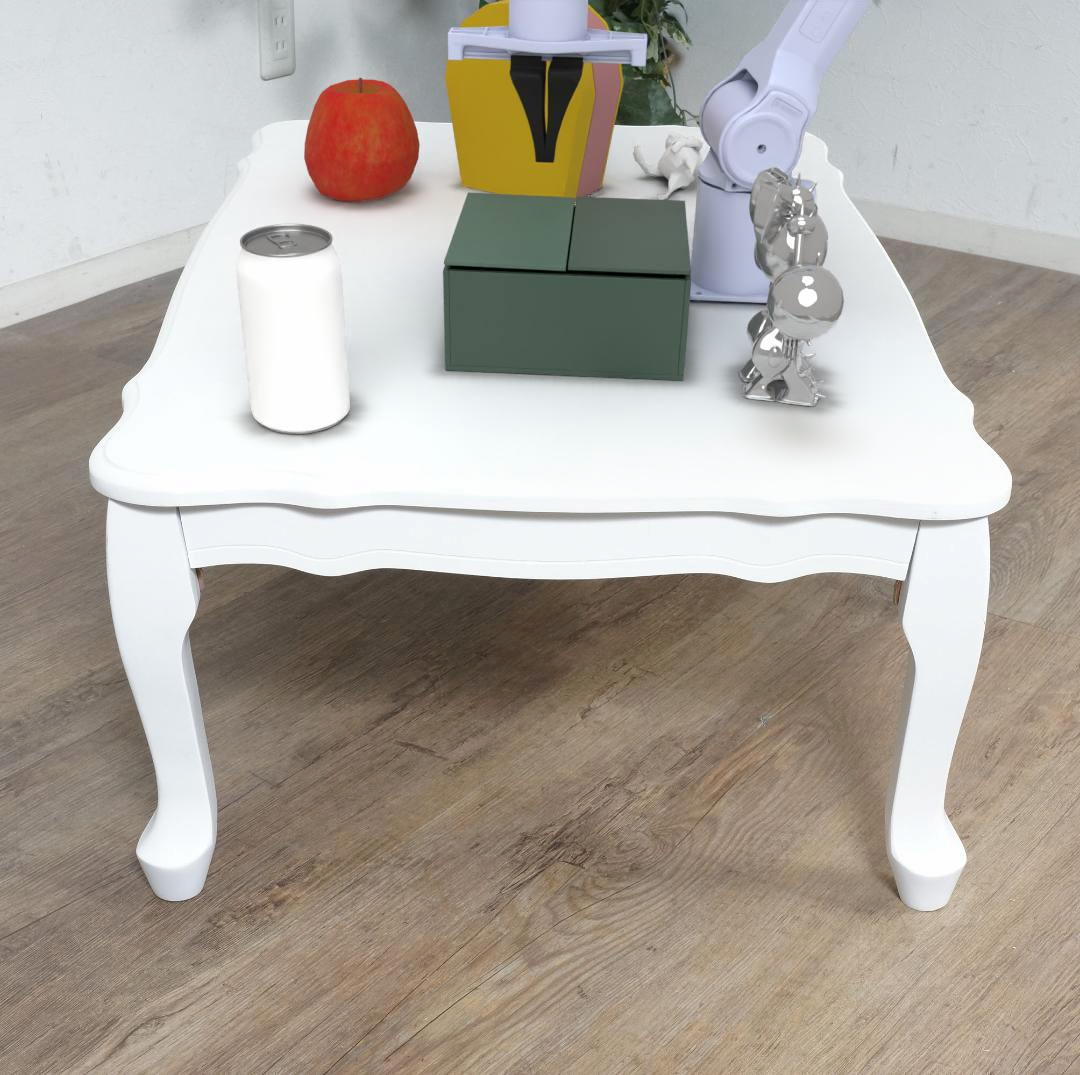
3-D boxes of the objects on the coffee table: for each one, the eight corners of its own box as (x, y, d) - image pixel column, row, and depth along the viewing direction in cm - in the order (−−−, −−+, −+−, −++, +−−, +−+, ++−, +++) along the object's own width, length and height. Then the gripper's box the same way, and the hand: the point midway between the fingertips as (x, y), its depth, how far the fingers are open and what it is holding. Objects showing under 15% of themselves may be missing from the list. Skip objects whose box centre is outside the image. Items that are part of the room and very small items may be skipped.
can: (269, 444, 84) (250, 264, 77) (239, 403, 88) (219, 229, 82) (365, 424, 86) (354, 247, 80) (331, 385, 91) (318, 215, 85)
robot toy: (839, 448, 85) (876, 221, 77) (743, 444, 85) (769, 217, 77) (811, 351, 97) (839, 148, 89) (727, 348, 97) (747, 145, 89)
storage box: (683, 380, 93) (692, 271, 88) (445, 370, 93) (442, 261, 89) (678, 300, 105) (685, 200, 101) (468, 291, 106) (466, 191, 101)
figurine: (623, 180, 125) (627, 142, 135) (676, 218, 127) (676, 178, 137) (661, 128, 122) (663, 94, 132) (715, 169, 124) (713, 131, 134)
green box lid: (565, 271, 89) (565, 266, 89) (443, 265, 89) (443, 260, 89) (574, 201, 101) (574, 197, 101) (467, 196, 102) (467, 192, 101)
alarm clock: (620, 189, 129) (631, -12, 119) (577, 211, 123) (584, 2, 113) (494, 162, 135) (493, -31, 125) (447, 182, 129) (443, -18, 119)
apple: (417, 211, 122) (413, 93, 116) (299, 210, 122) (290, 92, 116) (424, 176, 131) (421, 65, 125) (314, 174, 131) (306, 63, 125)
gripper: (650, -38, 97) (639, 147, 104) (454, -44, 98) (457, 140, 105) (651, -21, 91) (639, 174, 98) (442, -28, 92) (446, 167, 99)
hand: (545, 158), depth 101 cm, fingers closed
